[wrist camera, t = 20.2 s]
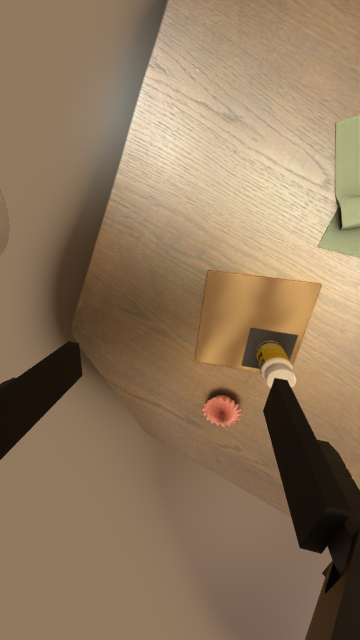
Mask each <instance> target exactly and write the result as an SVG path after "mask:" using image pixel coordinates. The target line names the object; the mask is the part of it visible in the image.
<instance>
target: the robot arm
mask: <svg viewBox="0 0 360 640" xmlns="http://www.w3.org/2000/svg"><path fill="white" fill-rule="evenodd" d="M81 376H82V368H81V358H80V349H79V343H75V342H67V343H66V344H64V345H63V346H62V347H60V348H59V349H57V350H56V351H54V352H53V353H52V354H50V355H49V356H47V357H46V358H44V359H43V360H42V361H40V362H39V363H38V364H36V365H35V366H33V367H32V368H31V369H29V370H27V371H26V372H25V373H23V374H22V375H20V376H19V377H18V378H12V379H10V380H7V381H5V382H3V383H1V384H0V460H1V459H2V458H3V457H4V456H5V455H6V454H7V452H8V451H9V450H10V449H11V448H12V447H13V446H14V445H15V444H16V443H17V442H18V441H19V440H20V439H21V438H22V437H23V436H24V435H25V434H26V433H27V432H28V431H29V430H30V429H31V428H32V427H33V426H34V425H35V424H36V423H37V422H38V421H39V420H40V419H41V417H43V415H44V414H45V413H46V412H47V411H48V410H49V409H50V408H51V407H52V406H53V405H54V404H55V403H56V402H57V401H58V400H59V399H60V398H61V397H62V396H63V395H64V394H65V393H66V392H67V391H68V390H69V389H70V388H71V387H72V386H73V385H74V384H75V383H76V382H77V380H78V379H79V378H80V377H81ZM263 412H264V416H265V419H266V423H267V427H268V431H269V434H270V438H271V442H272V446H273V449H274V453H275V457H276V461H277V464H278V468H279V472H280V476H281V479H282V483H283V487H284V491H285V494H286V498H287V502H288V506H289V509H290V513H291V517H292V521H293V524H294V528H295V532H296V536H297V539H298V543H299V547H300V548H302V549H306V550H310V551H313V552H317V553H322V552H323V551H324V550H325V548H326V547H327V546H328V549H329V551H330V554H331V557H332V562H331V563H330V564H329V565H328V566H327V568H326V569H325V570H324V571H323V573H322V574H323V575H324V576H325V581H324V583H323V587H322V590H321V593H320V596H319V599H318V602H317V605H316V608H315V611H314V614H313V617H312V620H311V623H310V626H309V629H308V632H307V635H306V639H305V640H360V490H359V489H358V487H357V485H356V483H355V482H354V480H353V479H352V476H351V474H350V473H349V471H348V469H347V468H346V466H345V464H344V462H343V460H342V458H341V457H340V455H339V453H338V452H337V451H336V450H335V449H334V448H333V447H332V446H331V445H330V444H329V442H326V441H321V440H317V439H316V437H315V435H314V433H313V431H312V429H311V427H310V425H309V423H308V421H307V419H306V417H305V415H304V413H303V411H302V409H301V407H300V405H299V403H298V401H297V399H296V397H295V395H294V393H293V391H292V389H291V387H290V384H289V382H288V380H284V379H278V378H274V381H273V384H272V387H271V390H270V393H269V395H268V398H267V401H266V404H265V407H264V410H263Z"/></svg>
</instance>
